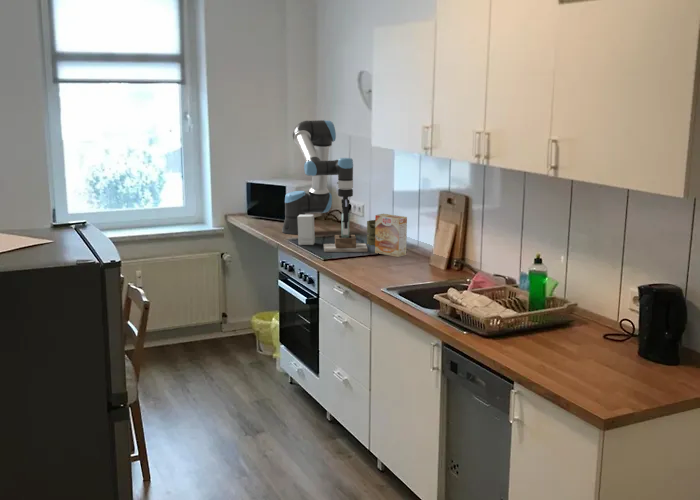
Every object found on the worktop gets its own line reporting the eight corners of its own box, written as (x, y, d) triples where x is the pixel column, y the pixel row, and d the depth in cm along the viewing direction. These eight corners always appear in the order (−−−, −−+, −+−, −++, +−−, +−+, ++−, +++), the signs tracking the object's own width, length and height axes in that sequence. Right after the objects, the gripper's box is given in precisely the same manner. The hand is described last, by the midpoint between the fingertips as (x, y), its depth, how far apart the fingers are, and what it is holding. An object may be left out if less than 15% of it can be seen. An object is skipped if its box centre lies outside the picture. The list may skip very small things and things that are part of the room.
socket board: (323, 246, 399) (323, 234, 398) (365, 246, 400) (365, 233, 399) (324, 252, 385) (324, 239, 384) (367, 251, 387) (367, 239, 385)
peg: (341, 243, 394) (341, 213, 391) (348, 243, 394) (349, 213, 391) (341, 245, 390) (341, 214, 387) (349, 245, 391) (349, 214, 387)
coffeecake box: (374, 253, 384) (374, 214, 380) (382, 250, 389) (383, 213, 385) (398, 257, 374) (399, 218, 370) (406, 254, 380) (407, 216, 376)
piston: (382, 224, 397) (363, 222, 402) (382, 246, 399) (363, 244, 404) (391, 221, 406) (372, 219, 412) (391, 243, 409) (372, 241, 414)
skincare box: (315, 242, 408) (314, 214, 405) (313, 245, 402) (313, 216, 398) (299, 242, 409) (299, 214, 406) (297, 245, 402) (297, 216, 399)
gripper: (337, 186, 395) (337, 230, 399) (338, 190, 378) (338, 236, 382) (351, 186, 395) (351, 230, 400) (354, 190, 378) (353, 236, 383)
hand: (345, 233), depth 391 cm, fingers open, 4 cm apart
